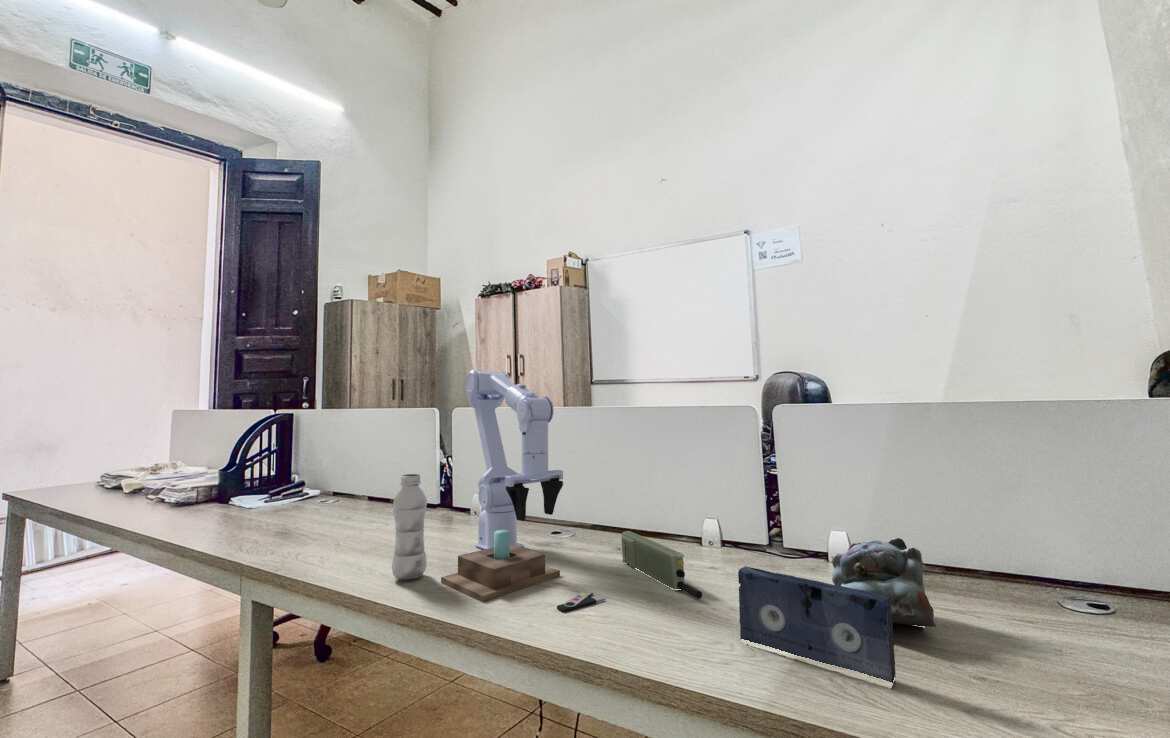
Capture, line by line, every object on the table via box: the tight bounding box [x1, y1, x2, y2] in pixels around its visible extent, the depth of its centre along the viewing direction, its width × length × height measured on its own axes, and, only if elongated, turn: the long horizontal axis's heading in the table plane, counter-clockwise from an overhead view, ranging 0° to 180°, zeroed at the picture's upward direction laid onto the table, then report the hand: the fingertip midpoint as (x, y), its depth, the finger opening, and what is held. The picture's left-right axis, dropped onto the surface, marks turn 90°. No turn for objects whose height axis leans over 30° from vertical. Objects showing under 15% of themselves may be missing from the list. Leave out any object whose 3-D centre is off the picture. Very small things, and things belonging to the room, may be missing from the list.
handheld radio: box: [621, 530, 703, 600], centre depth 94 cm, size 7×3×25 cm
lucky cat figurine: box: [831, 537, 936, 628], centre depth 76 cm, size 15×12×14 cm
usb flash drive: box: [556, 590, 606, 614], centre depth 83 cm, size 9×5×1 cm, turn 124°
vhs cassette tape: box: [737, 565, 896, 683], centre depth 64 cm, size 18×3×10 cm, turn 48°
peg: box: [494, 530, 510, 560], centre depth 96 cm, size 3×3×8 cm
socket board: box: [440, 544, 561, 603], centre depth 95 cm, size 14×18×4 cm
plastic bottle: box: [391, 473, 428, 581], centre depth 97 cm, size 6×7×20 cm
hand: (535, 516), depth 105 cm, fingers open, 7 cm apart
